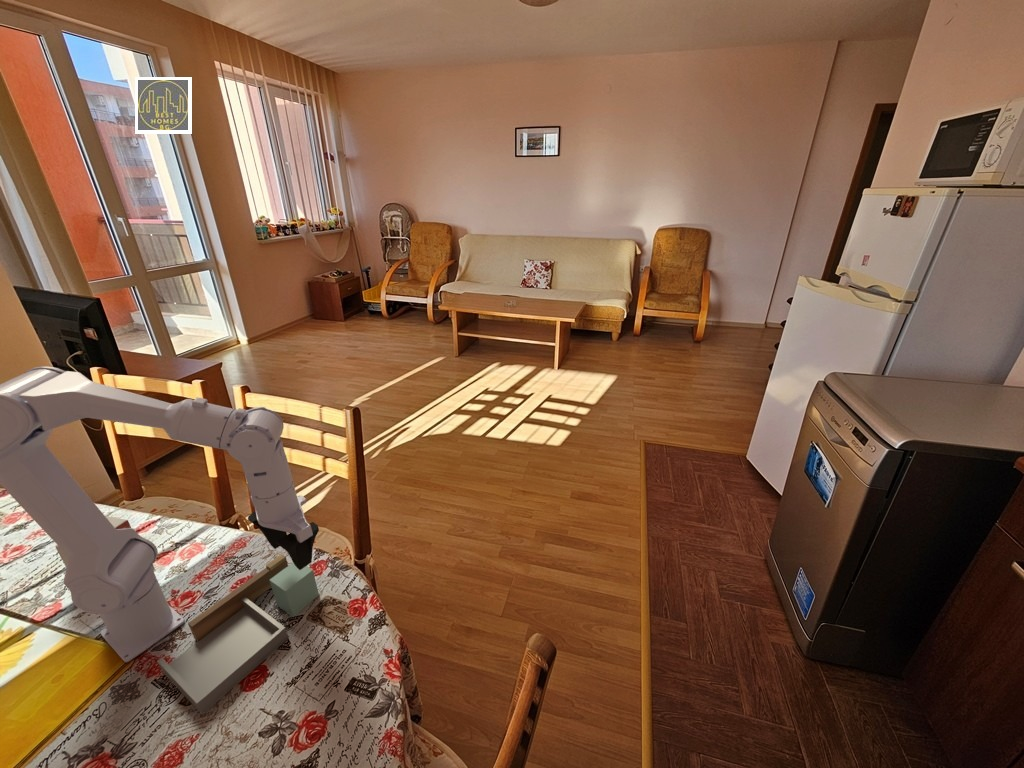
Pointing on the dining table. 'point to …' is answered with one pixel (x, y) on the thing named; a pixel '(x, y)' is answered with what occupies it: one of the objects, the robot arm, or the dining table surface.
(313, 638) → the dining table surface
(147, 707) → the dining table surface
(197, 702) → the grey open tray
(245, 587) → the long wooden plank
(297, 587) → the block
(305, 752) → the dining table surface
